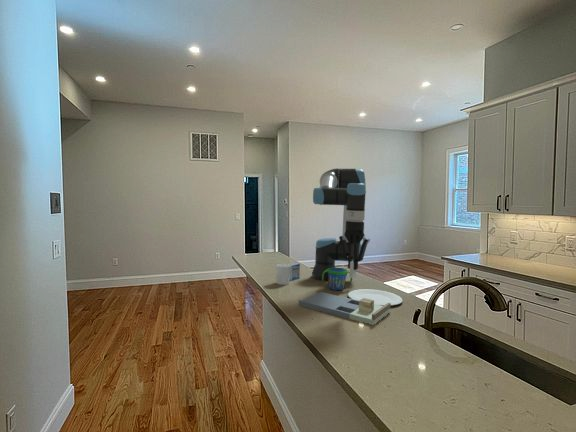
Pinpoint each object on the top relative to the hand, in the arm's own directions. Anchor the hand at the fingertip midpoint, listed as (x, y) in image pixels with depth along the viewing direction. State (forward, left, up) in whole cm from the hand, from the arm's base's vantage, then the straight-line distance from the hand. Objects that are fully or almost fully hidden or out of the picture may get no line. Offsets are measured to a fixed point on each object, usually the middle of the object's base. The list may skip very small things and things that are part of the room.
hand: (352, 276), depth 133 cm
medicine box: (-27, -49, -15) cm, 58 cm away
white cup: (-15, -47, -15) cm, 52 cm away
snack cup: (-26, -20, -15) cm, 36 cm away
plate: (-22, +2, -15) cm, 27 cm away
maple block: (+1, +7, -12) cm, 14 cm away
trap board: (0, -3, -14) cm, 15 cm away
